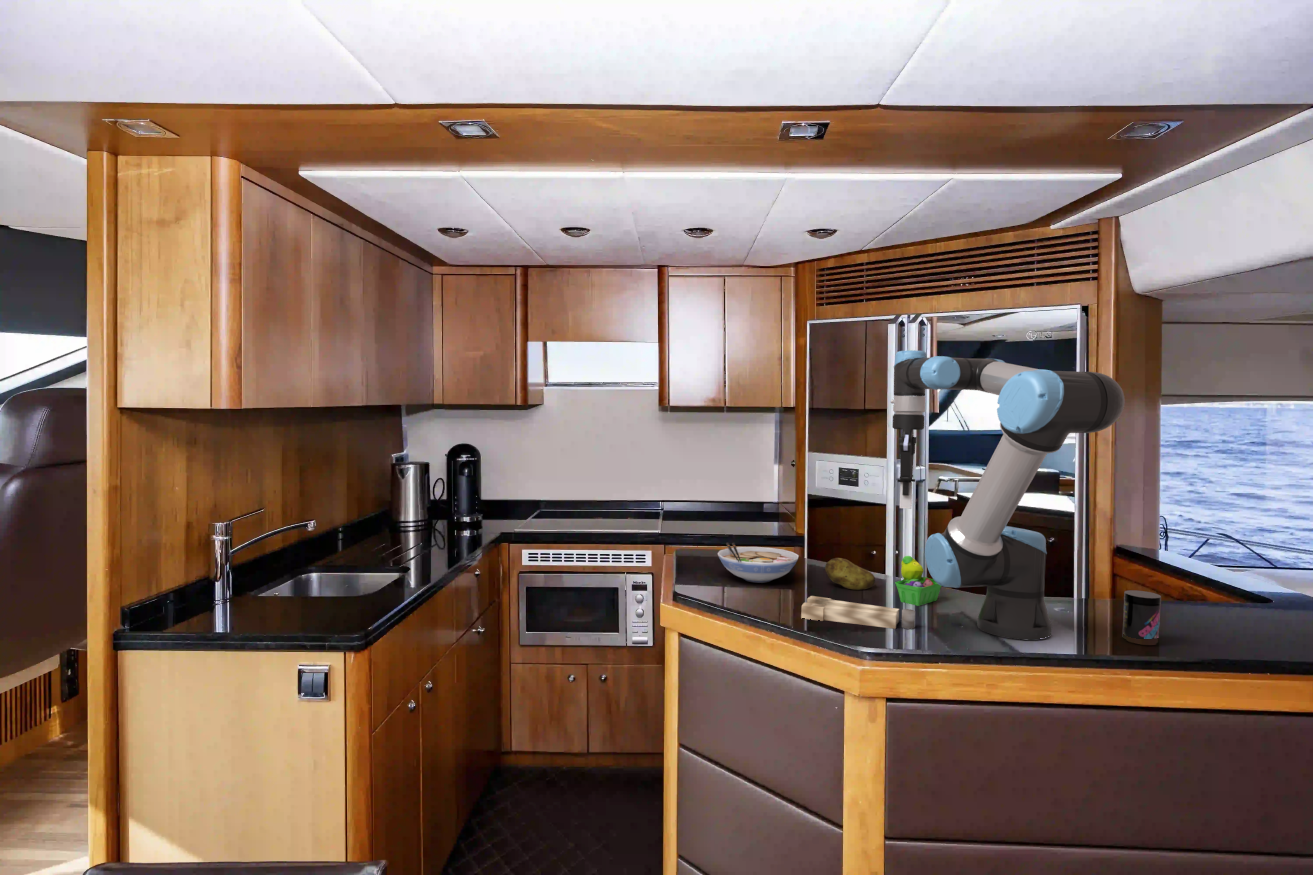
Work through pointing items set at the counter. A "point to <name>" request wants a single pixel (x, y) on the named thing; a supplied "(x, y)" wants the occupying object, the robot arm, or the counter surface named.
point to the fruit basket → (916, 584)
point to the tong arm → (851, 605)
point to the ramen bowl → (757, 562)
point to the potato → (849, 574)
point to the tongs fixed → (857, 616)
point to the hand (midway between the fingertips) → (905, 508)
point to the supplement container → (1141, 614)
